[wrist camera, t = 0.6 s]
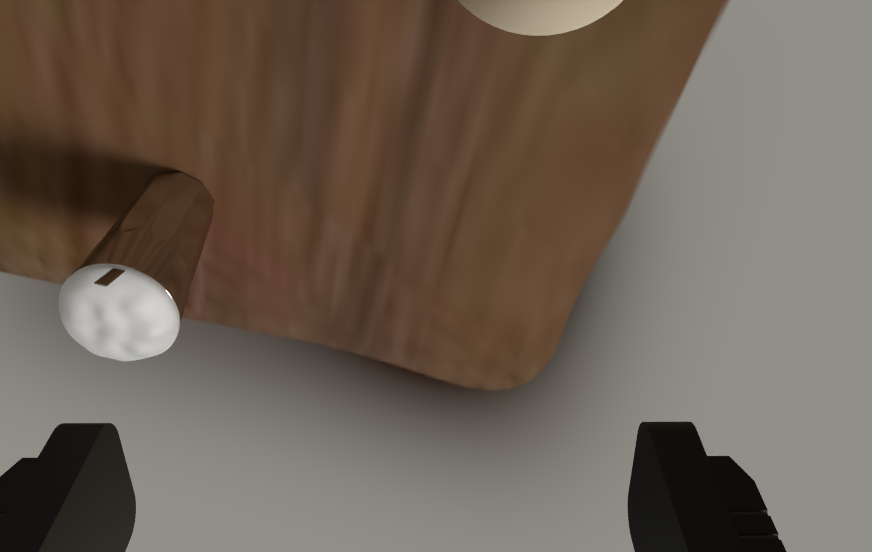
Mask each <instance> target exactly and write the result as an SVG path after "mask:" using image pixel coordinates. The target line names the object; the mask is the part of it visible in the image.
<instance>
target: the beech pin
mask: <svg viewBox="0 0 872 552" xmlns="http://www.w3.org/2000/svg"><path fill="white" fill-rule="evenodd" d="M458 1H459V2H460V3H461V4H462V5H463V6H464V7H465V8H466V9H467V10H469V11H470V12H471V13H472V14H474V15H475V16H477V17H478V18H479V19H481V20H483V21H485V22H486V23H488V24H490V25H492V26H494V27H497V28H500V29H502V30H505V31H508V32H513V33H517V34H523V35H533V36H540V35H554V34H560V33H565V32H569V31H572V30H576V29H578V28H581V27H583V26H586V25H588V24H590V23H592V22H594V21H596V20H598V19H599V18H601V17H603V16H604V15H606V14H607V13H609V12H610V11H611V10H613V9H614V8H615V7H617V6H618V5H619V4H620V3H621V2H622V1H623V0H458Z"/></svg>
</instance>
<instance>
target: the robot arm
mask: <svg viewBox="0 0 872 552" xmlns="http://www.w3.org/2000/svg"><path fill="white" fill-rule="evenodd" d="M135 514H136V501H135V494H134V490H133V486H132V483H131V479H130V475H129V471H128V468H127V464H126V461H125V456H124V453H123V449H122V445H121V441H120V438H119V434H118V431H117V429H116V427H115V426H114V425H113V424H111V423H63V424H60V425H58V426H57V427H56V428H55V430H54V431H53V433H52V434H51V436H50V438H49V439H48V441H47V443H46V445H45V446H44V448H43V450H42V452H41V453H40V455H39V456H38V458H22V459H21V460H19V461H18V462H17V463H16V464H15V465H13V466H12V467H11V468H10V469H9V470H8V471H6V472H5V473H4V474H3V475H2V476H1V477H0V552H125V550H126V548H127V546H128V543H129V541H130V538H131V535H132V532H133V528H134V523H135ZM628 520H629V528H630V534H631V538H632V542H633V546H634V550H635V552H786V550H785V548H784V545H783V543H782V541H781V540H779V539H778V532H777V530H776V528H775V526H774V523H773V521H772V519H771V517H770V516H768V514H767V508H766V506H765V504H764V501H763V499H762V497H761V495H760V492H759V490H758V488H757V486H756V484H755V481H754V480H753V479H752V478H751V477H750V476H749V475H748V474H747V473H746V472H745V471H744V470H743V469H742V468H741V467H740V466H738V465H737V463H735V462H734V460H733V459H732V458H730V457H729V456H707V455H706V452H705V450H704V448H703V445H702V443H701V440H700V437H699V435H698V432H697V430H696V428H695V426H694V425H693V423H692V422H642V423H641V424H640V426H639V429H638V434H637V441H636V447H635V454H634V460H633V467H632V474H631V480H630V486H629V493H628Z"/></svg>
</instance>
